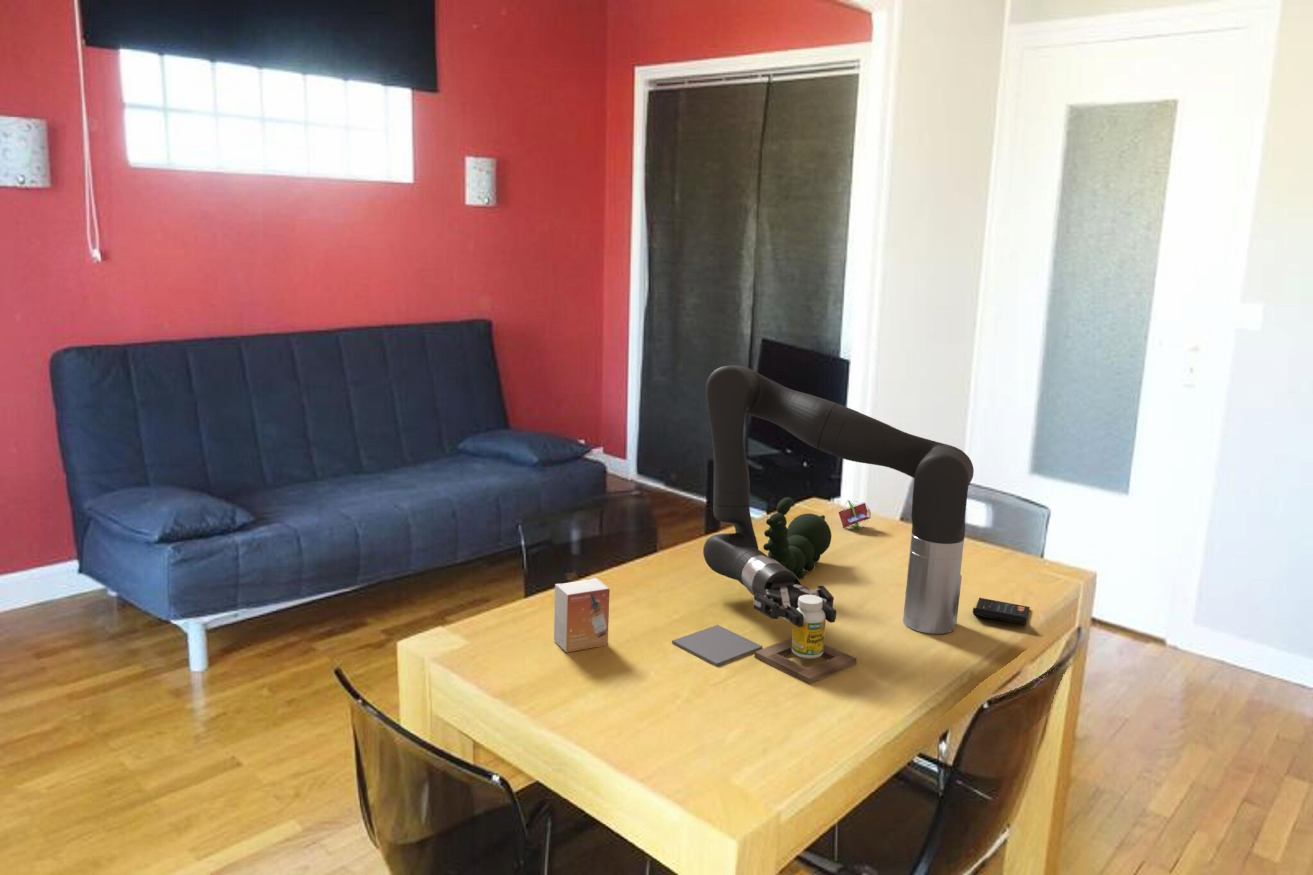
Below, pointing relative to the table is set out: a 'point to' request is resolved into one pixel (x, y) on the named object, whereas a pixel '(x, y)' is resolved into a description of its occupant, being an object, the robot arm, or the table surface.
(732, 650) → the charcoal mat
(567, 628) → the small box
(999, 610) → the black flat block
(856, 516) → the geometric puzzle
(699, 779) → the table surface
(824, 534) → the toy figurine
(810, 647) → the supplement bottle
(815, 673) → the walnut dock
